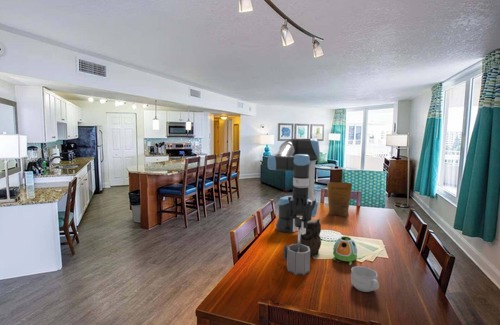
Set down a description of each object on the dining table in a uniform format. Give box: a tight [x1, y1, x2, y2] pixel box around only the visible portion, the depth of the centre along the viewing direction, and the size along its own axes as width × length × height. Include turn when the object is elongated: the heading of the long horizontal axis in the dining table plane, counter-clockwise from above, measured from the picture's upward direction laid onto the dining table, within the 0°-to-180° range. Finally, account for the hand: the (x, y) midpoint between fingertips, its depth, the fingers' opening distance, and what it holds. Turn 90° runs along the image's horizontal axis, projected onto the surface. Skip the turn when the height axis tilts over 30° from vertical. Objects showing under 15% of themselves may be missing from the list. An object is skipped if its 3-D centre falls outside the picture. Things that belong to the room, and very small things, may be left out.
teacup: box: [350, 265, 380, 293], centre depth 120 cm, size 14×11×8 cm
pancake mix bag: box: [326, 181, 353, 217], centre depth 226 cm, size 7×19×28 cm, turn 63°
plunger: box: [294, 216, 303, 252], centre depth 136 cm, size 8×8×19 cm
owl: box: [300, 218, 322, 258], centre depth 154 cm, size 13×13×20 cm
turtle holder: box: [332, 235, 358, 266], centre depth 150 cm, size 12×18×12 cm
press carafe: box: [283, 243, 311, 276], centre depth 138 cm, size 14×11×11 cm
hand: (299, 232), depth 136 cm, fingers closed on plunger, 4 cm apart
